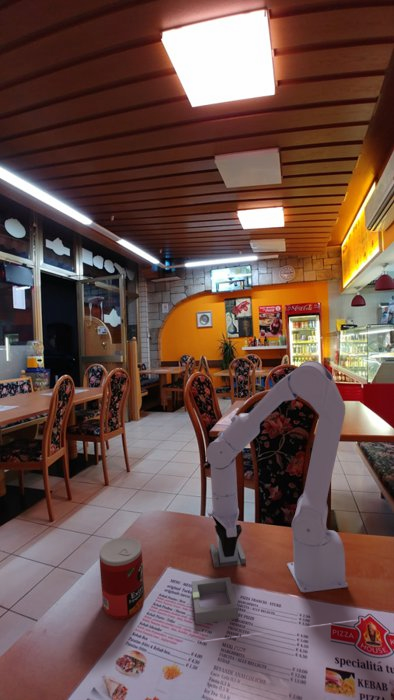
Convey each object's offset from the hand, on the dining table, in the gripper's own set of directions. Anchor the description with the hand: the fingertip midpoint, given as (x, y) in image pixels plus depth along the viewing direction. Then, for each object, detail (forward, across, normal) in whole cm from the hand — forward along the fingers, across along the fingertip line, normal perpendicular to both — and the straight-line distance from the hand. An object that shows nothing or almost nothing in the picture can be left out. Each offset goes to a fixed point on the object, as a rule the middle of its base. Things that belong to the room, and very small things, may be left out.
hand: (227, 549), depth 77 cm
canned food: (+2, +10, -22) cm, 24 cm away
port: (+2, +13, -5) cm, 14 cm away
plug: (+2, 0, 0) cm, 2 cm away
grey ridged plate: (+2, 0, 0) cm, 2 cm away
